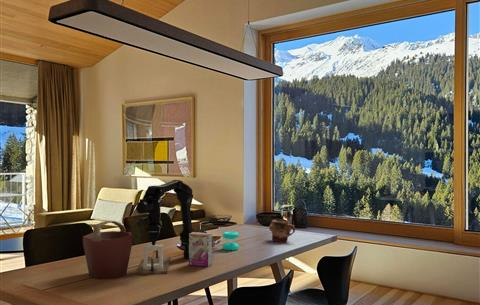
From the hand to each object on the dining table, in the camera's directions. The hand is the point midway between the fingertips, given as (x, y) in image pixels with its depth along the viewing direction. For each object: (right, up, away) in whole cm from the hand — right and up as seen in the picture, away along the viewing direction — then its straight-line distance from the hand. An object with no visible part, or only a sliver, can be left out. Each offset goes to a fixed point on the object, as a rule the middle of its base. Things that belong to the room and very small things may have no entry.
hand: (154, 243), depth 215 cm
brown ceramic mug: (+70, -14, +75) cm, 103 cm away
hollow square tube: (0, -12, 0) cm, 12 cm away
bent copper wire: (-1, -12, +8) cm, 15 cm away
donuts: (+36, -14, +50) cm, 64 cm away
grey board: (-1, -13, +9) cm, 16 cm away
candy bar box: (+22, -14, +10) cm, 28 cm away
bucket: (-21, -13, -7) cm, 26 cm away
